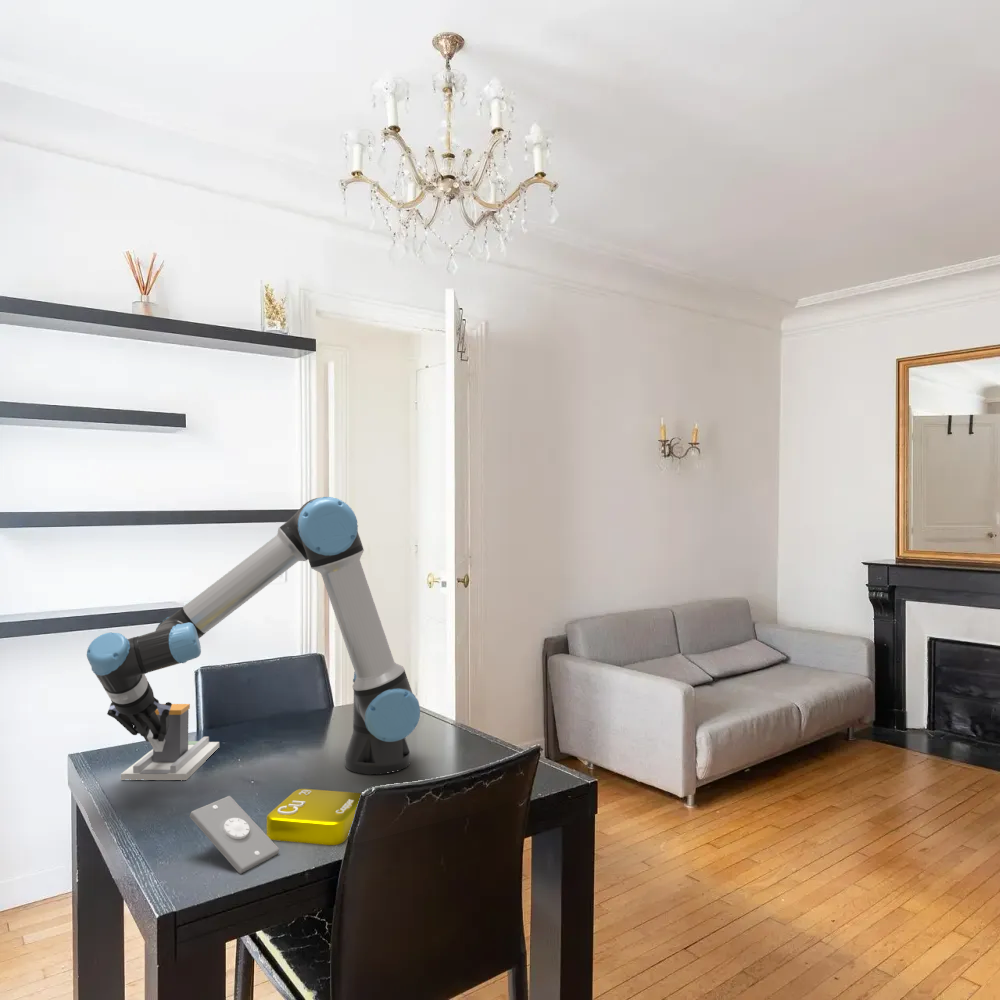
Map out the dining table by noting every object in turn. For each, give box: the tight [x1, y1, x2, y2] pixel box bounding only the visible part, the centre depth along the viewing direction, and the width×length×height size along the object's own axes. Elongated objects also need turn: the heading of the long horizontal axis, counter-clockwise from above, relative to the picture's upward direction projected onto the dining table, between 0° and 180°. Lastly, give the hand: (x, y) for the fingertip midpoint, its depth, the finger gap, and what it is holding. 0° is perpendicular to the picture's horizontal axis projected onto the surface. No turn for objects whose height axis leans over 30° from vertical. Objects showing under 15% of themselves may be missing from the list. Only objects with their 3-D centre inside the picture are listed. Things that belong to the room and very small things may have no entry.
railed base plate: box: [120, 736, 220, 782], centre depth 178 cm, size 22×14×3 cm, turn 2°
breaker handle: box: [152, 703, 191, 762], centre depth 176 cm, size 5×6×12 cm
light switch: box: [189, 795, 280, 874], centre depth 133 cm, size 8×6×14 cm
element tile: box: [265, 788, 362, 846], centre depth 145 cm, size 15×15×5 cm
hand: (160, 746), depth 173 cm, fingers closed
